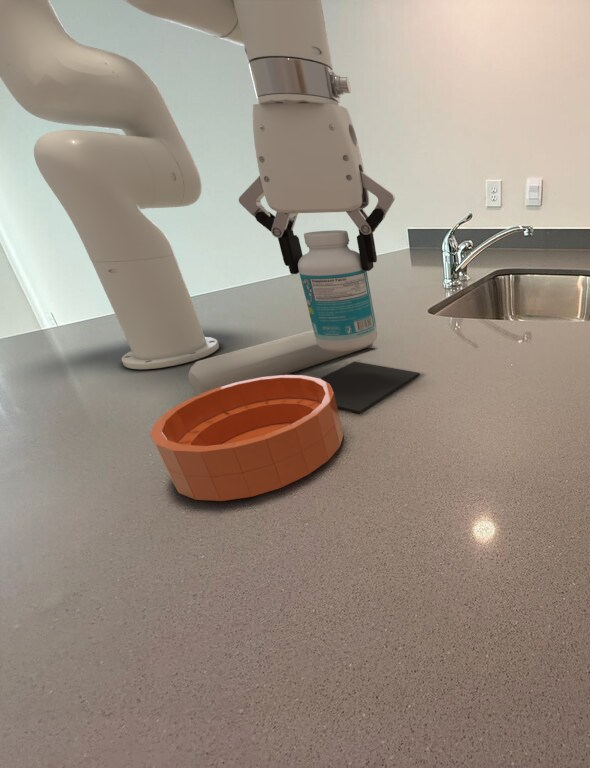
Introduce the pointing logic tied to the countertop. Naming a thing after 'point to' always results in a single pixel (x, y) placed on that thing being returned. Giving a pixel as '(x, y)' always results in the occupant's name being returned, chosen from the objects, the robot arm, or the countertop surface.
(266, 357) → the tube
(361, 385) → the coaster
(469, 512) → the countertop surface
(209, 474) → the bowl
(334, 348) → the pill bottle
